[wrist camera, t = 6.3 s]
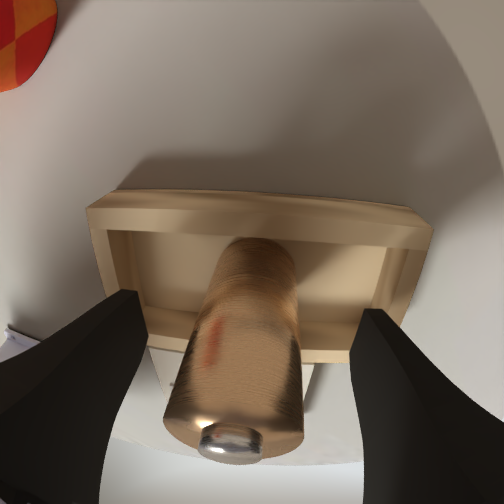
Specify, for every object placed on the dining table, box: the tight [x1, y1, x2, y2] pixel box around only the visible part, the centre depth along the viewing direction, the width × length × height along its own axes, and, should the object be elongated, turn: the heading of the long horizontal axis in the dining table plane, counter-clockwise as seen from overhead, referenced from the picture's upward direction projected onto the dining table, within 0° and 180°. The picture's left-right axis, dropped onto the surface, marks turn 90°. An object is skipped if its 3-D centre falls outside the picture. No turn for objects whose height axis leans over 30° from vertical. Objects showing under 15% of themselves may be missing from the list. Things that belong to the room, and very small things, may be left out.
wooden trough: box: [86, 189, 434, 363], centre depth 11 cm, size 12×6×2 cm, turn 88°
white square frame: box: [149, 346, 314, 404], centre depth 15 cm, size 8×8×2 cm
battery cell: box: [163, 237, 304, 465], centre depth 8 cm, size 3×3×8 cm
